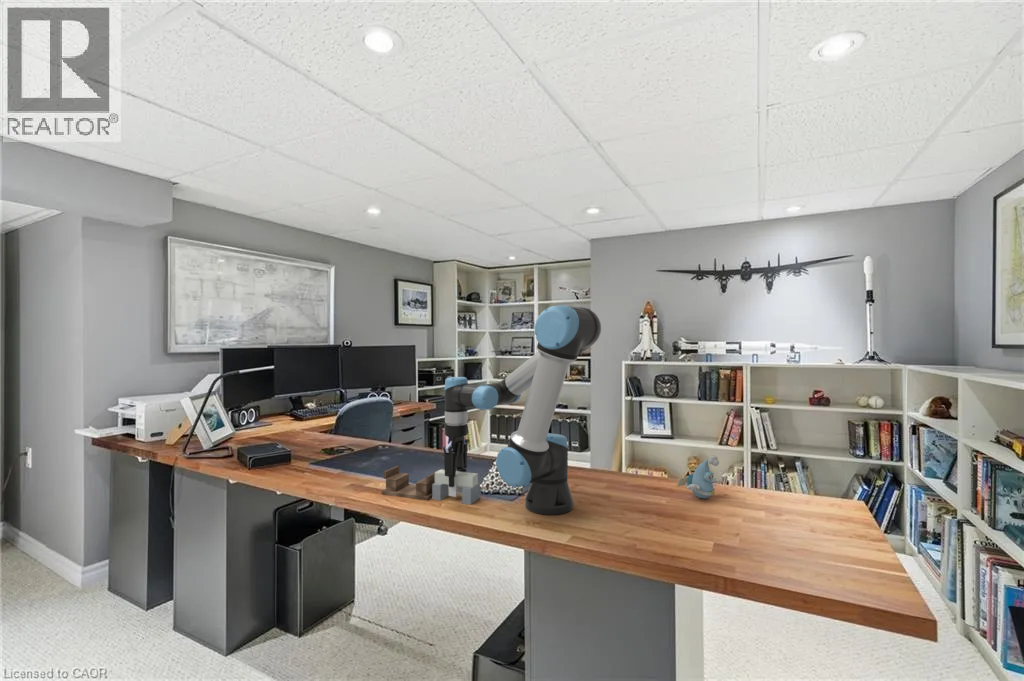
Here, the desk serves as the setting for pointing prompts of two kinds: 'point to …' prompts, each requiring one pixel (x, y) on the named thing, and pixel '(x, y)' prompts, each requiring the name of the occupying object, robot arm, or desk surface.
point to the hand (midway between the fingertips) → (456, 493)
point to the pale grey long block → (462, 478)
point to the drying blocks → (467, 493)
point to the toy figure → (701, 479)
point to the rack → (407, 485)
